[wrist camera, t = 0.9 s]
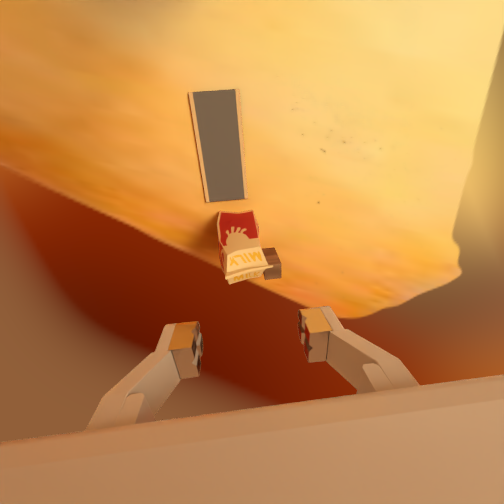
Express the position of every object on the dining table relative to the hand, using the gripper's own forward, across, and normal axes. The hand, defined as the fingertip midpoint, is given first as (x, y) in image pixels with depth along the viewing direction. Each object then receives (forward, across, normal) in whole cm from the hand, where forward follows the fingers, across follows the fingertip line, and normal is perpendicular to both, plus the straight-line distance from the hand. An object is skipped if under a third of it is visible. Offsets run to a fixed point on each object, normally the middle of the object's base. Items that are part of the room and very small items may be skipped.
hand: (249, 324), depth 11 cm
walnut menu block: (+39, -6, +16) cm, 43 cm away
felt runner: (+39, +2, -8) cm, 40 cm away
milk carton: (+39, 0, +9) cm, 40 cm away
